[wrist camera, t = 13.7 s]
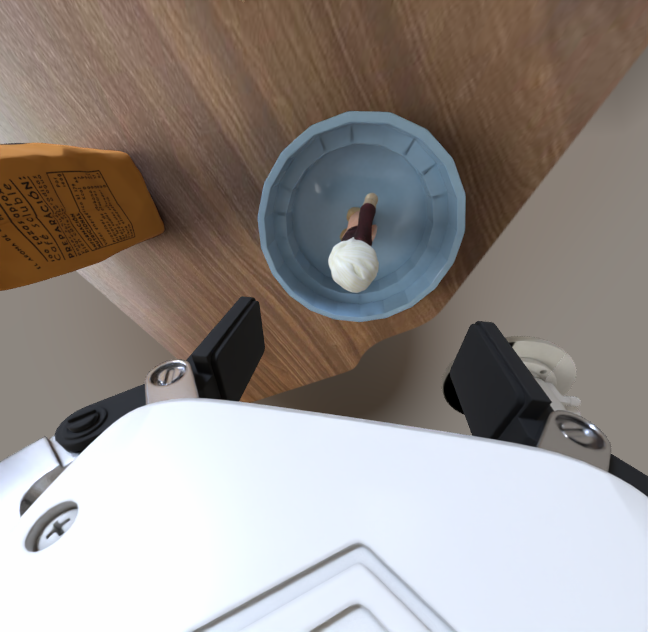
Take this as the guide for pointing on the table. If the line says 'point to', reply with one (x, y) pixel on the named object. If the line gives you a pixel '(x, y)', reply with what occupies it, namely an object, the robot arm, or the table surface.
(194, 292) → the table surface
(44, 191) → the coffee package
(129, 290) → the table surface
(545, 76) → the table surface
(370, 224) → the grandmother figurine
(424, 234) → the bowl
